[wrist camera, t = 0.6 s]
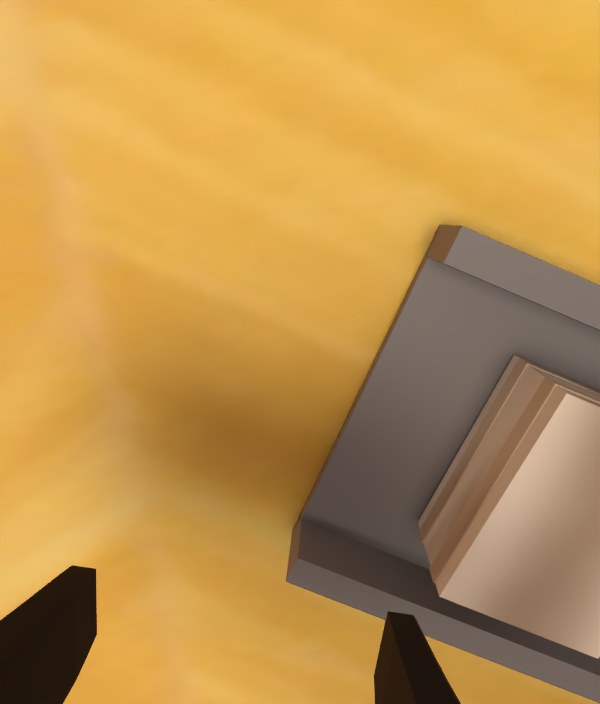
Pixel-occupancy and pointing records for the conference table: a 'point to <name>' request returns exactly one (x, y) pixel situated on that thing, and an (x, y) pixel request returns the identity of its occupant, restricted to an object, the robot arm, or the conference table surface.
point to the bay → (442, 440)
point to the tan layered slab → (525, 510)
